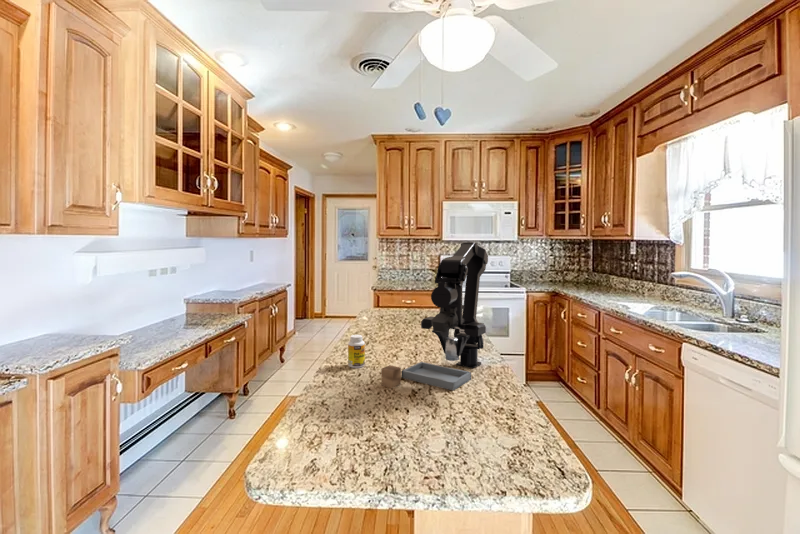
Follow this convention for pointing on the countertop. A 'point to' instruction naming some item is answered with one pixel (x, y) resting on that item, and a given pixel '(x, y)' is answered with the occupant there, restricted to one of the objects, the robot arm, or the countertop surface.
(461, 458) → the countertop surface
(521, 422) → the countertop surface
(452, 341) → the grey peg
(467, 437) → the countertop surface
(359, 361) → the supplement bottle
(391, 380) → the walnut block
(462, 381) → the parts tray
